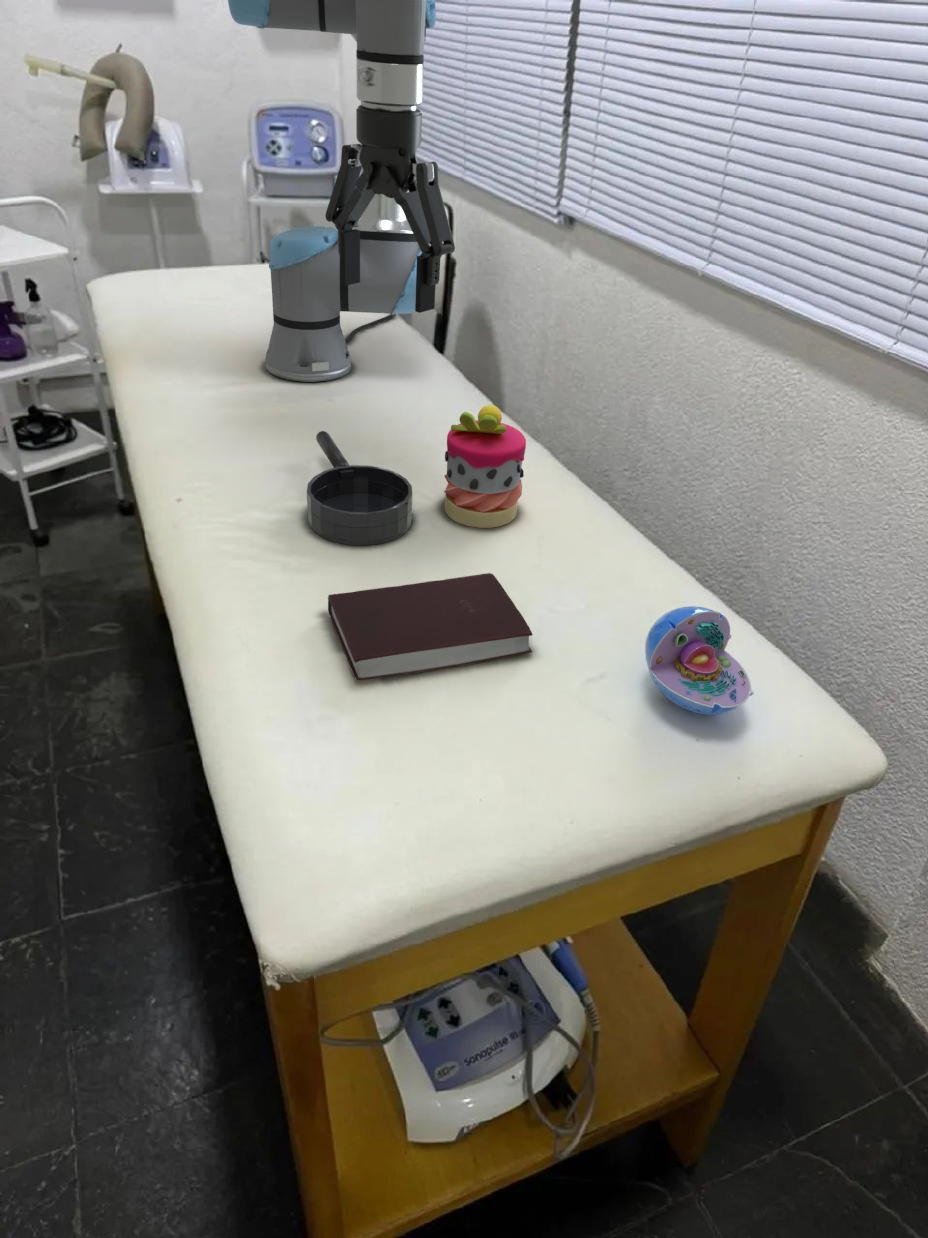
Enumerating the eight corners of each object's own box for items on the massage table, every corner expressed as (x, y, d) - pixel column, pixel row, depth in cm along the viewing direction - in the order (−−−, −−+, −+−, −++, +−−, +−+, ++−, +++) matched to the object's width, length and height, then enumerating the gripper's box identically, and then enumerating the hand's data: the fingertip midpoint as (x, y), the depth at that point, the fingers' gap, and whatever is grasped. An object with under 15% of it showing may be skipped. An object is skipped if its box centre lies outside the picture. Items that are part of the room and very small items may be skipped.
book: (327, 614, 94) (326, 589, 92) (490, 590, 100) (492, 567, 98) (354, 686, 85) (353, 660, 83) (531, 655, 91) (535, 631, 89)
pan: (425, 536, 109) (427, 505, 106) (323, 552, 104) (322, 520, 102) (392, 489, 119) (392, 460, 116) (297, 502, 114) (295, 471, 112)
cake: (443, 489, 120) (449, 386, 111) (518, 494, 120) (530, 392, 111) (439, 525, 112) (446, 417, 103) (519, 531, 112) (532, 424, 103)
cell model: (685, 748, 81) (709, 669, 75) (616, 672, 89) (633, 596, 84) (766, 723, 84) (795, 646, 79) (693, 652, 93) (714, 579, 87)
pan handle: (354, 480, 115) (354, 467, 114) (340, 482, 114) (339, 468, 113) (328, 440, 124) (327, 428, 123) (314, 442, 124) (314, 429, 123)
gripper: (292, 91, 101) (300, 277, 113) (448, 123, 88) (437, 328, 101) (340, 90, 105) (343, 268, 118) (494, 120, 93) (478, 316, 106)
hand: (386, 296), depth 110 cm, fingers open, 13 cm apart
